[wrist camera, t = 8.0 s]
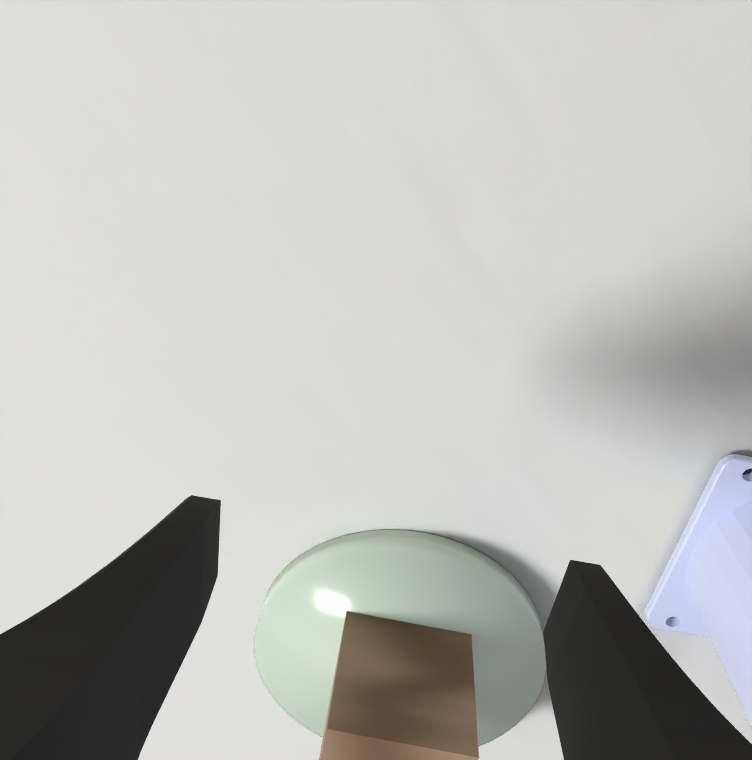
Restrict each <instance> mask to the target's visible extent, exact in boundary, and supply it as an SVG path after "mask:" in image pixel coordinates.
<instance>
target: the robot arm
mask: <svg viewBox="0 0 752 760" xmlns="http://www.w3.org/2000/svg"><path fill="white" fill-rule="evenodd" d="M748 469H752V457H749V456H744V455H738V454H731V455H727V456H725V457H723V458H722V459H721V460H720V461H719V462H718V463H717V465H716V467H715V469H714V471H713V473H712V475H711V477H710V479H709V481H708V483H707V485H706V487H705V490H704V492H703V494H702V496H701V498H700V500H699V502H698V504H697V506H696V508H695V510H694V512H693V514H692V516H691V518H690V520H689V522H688V524H687V526H686V528H685V530H684V532H683V534H682V536H681V538H680V540H679V542H678V544H677V546H676V548H675V550H674V552H673V554H672V556H671V558H670V560H669V562H668V564H667V566H666V568H665V570H664V572H663V574H662V576H661V578H660V580H659V582H658V584H657V586H656V588H655V590H654V592H653V594H652V596H651V598H650V600H649V602H648V604H647V606H646V608H645V611H644V616H645V618H646V621H647V623H648V624H649V625H650V626H652V627H655V628H660V629H665V630H670V631H676V632H681V633H686V634H691V635H696V636H702V637H707V638H709V639H710V641H711V643H712V646H713V648H714V650H715V652H716V654H717V656H718V658H719V660H720V662H721V664H722V666H723V669H724V671H725V673H726V675H727V677H728V679H729V681H730V683H731V685H732V687H733V689H734V692H735V694H736V696H737V698H738V700H739V702H740V704H741V706H742V708H743V710H744V712H745V715H746V717H747V719H748V721H749V723H750V725H751V727H752V472H751V473H749V474H747V475H743V473H744V472H745V470H748ZM220 505H221V500H216V499H210V498H204V497H198V496H192V495H191V496H190V497H188V498H187V499H185V500H184V501H183V502H182V503H181V504H180V505H179V506H177V507H176V508H175V509H174V510H173V511H172V512H171V513H170V514H168V515H167V516H166V517H165V518H164V519H163V520H162V521H160V522H159V523H158V524H157V525H156V526H155V527H154V528H152V529H151V530H150V531H149V532H148V533H146V534H145V535H144V536H143V537H142V538H140V539H139V540H138V541H137V542H136V543H134V544H133V545H132V546H131V547H129V548H128V549H127V550H126V551H124V552H123V553H122V554H121V555H119V556H118V557H117V558H116V559H114V560H113V561H112V562H111V563H109V564H108V565H106V566H105V567H104V568H102V569H101V570H100V571H98V572H97V573H96V574H94V575H93V576H91V577H90V578H89V579H87V580H86V581H85V582H83V583H82V584H80V585H79V586H78V587H76V588H75V589H73V590H72V591H70V592H69V593H68V594H66V595H65V596H63V597H62V598H60V599H59V600H57V601H56V602H54V603H52V604H51V605H49V606H48V607H46V608H45V609H43V610H41V611H40V612H38V613H36V614H35V615H33V616H32V617H30V618H28V619H27V620H25V621H23V622H22V623H20V624H18V625H16V626H14V627H13V628H11V629H9V630H7V631H6V632H4V633H2V634H0V760H138V758H139V755H140V752H141V750H142V747H143V745H144V742H145V740H146V738H147V736H148V733H149V731H150V729H151V726H152V724H153V722H154V720H155V718H156V716H157V714H158V712H159V710H160V708H161V705H162V703H163V701H164V699H165V697H166V695H167V693H168V691H169V689H170V687H171V685H172V683H173V681H174V679H175V676H176V674H177V672H178V670H179V668H180V666H181V664H182V662H183V660H184V658H185V656H186V654H187V652H188V649H189V647H190V645H191V643H192V641H193V639H194V637H195V635H196V633H197V631H198V628H199V626H200V624H201V622H202V619H203V616H204V614H205V611H206V608H207V605H208V602H209V599H210V596H211V593H212V590H213V587H214V585H215V582H216V579H217V576H218V552H219V529H220ZM670 617H674V618H671V619H668V618H670ZM544 643H545V657H546V668H547V678H548V685H549V690H550V695H551V700H552V704H553V709H554V714H555V719H556V724H557V728H558V733H559V738H560V742H561V747H562V752H563V756H564V760H752V744H751V743H750V742H749V741H748V740H747V739H746V738H745V737H744V736H743V735H742V734H741V733H740V732H739V731H738V730H737V729H736V728H735V727H734V726H733V725H732V724H731V723H730V722H729V721H728V720H727V719H726V718H725V717H724V716H723V715H722V714H721V713H720V712H719V711H718V710H717V709H716V707H715V706H714V705H713V704H712V703H711V702H710V701H709V700H708V699H707V698H706V697H705V695H704V694H703V693H702V692H701V691H700V690H699V689H698V687H697V686H696V685H695V684H694V683H693V682H692V681H691V680H690V678H689V677H688V676H687V675H686V674H685V673H684V672H683V670H682V669H681V668H680V667H679V666H678V664H677V663H676V662H675V661H674V660H673V658H672V657H671V656H670V655H669V653H668V652H667V651H666V650H665V649H664V647H663V646H662V645H661V644H660V642H659V641H658V640H657V639H656V637H655V636H654V635H653V634H652V632H651V631H650V630H649V628H648V627H647V626H646V625H645V623H644V622H643V621H642V619H641V618H640V617H639V615H638V614H637V613H636V611H635V610H634V609H633V608H632V606H631V605H630V604H629V602H628V601H627V600H626V598H625V597H624V596H623V594H622V593H621V592H620V590H619V589H618V588H617V586H616V585H615V584H614V582H613V581H612V580H611V578H610V577H609V576H608V574H607V573H606V572H605V571H604V569H603V568H602V567H601V565H597V564H591V563H585V562H579V561H574V560H570V562H569V565H568V567H567V570H566V573H565V575H564V578H563V581H562V584H561V586H560V589H559V592H558V594H557V597H556V600H555V602H554V605H553V608H552V610H551V613H550V616H549V618H548V621H547V624H546V626H545V629H544Z"/></svg>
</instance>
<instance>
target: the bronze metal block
mask: <svg viewBox="0 0 752 760" xmlns="http://www.w3.org/2000/svg"><path fill="white" fill-rule="evenodd" d="M478 759H479V752H478V736H477V719H476V702H475V685H474V668H473V651H472V634H467V633H462V632H457V631H451V630H446V629H440V628H435V627H430V626H424V625H419V624H414V623H408V622H403V621H398V620H392V619H387V618H381V617H376V616H371V615H365V614H360V613H355V612H349V611H346V617H345V622H344V627H343V632H342V638H341V643H340V648H339V653H338V658H337V664H336V669H335V674H334V679H333V685H332V690H331V695H330V701H329V707H328V713H327V718H326V724H325V730H324V736H323V742H322V747H321V753H320V759H319V760H478Z"/></svg>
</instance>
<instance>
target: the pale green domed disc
mask: <svg viewBox="0 0 752 760" xmlns="http://www.w3.org/2000/svg"><path fill="white" fill-rule="evenodd" d="M346 611H349V612H355V613H360V614H365V615H371V616H376V617H381V618H387V619H392V620H398V621H403V622H408V623H414V624H419V625H424V626H430V627H435V628H440V629H446V630H451V631H457V632H462V633H467V634H472V651H473V668H474V685H475V702H476V719H477V736H478V747H479V746H481V745H483V744H486V743H488V742H490V741H492V740H494V739H496V738H498V737H499V736H501V735H503V734H504V733H506V732H507V731H508V730H510V729H511V728H513V727H514V726H515V725H516V724H517V723H518V722H519V721H520V720H522V719H523V718H524V717H525V716H526V714H527V713H528V712H529V711H530V709H531V708H532V707H533V705H534V704H535V702H536V700H537V698H538V696H539V694H540V693H541V690H542V686H543V683H544V680H545V674H546V657H545V646H544V641H543V635H542V630H541V625H540V621H539V618H538V614H537V612H536V609H535V607H534V605H533V603H532V600H531V599H530V597H529V596H528V594H527V593H526V591H525V590H524V588H523V587H522V586H521V585H520V584H519V582H518V581H517V580H516V579H515V578H514V577H513V576H512V575H511V574H510V573H509V572H508V571H507V570H505V569H504V568H503V567H502V566H501V565H499V564H498V563H497V562H495V561H494V560H492V559H491V558H489V557H488V556H486V555H484V554H483V553H481V552H479V551H477V550H475V549H473V548H471V547H469V546H467V545H465V544H462V543H459V542H456V541H454V540H451V539H448V538H445V537H441V536H437V535H433V534H429V533H423V532H415V531H408V530H374V531H364V532H358V533H353V534H347V535H344V536H341V537H338V538H334V539H331V540H328V541H326V542H324V543H321V544H319V545H317V546H315V547H313V548H311V549H309V550H308V551H306V552H304V553H303V554H301V555H299V556H298V557H297V558H296V559H294V560H293V561H292V562H291V563H290V564H288V565H287V566H286V567H285V568H284V569H283V571H282V572H281V573H280V574H279V575H278V576H277V577H276V579H275V581H274V582H273V584H272V585H271V587H270V588H269V590H268V593H267V595H266V598H265V600H264V603H263V606H262V609H261V612H260V615H259V618H258V621H257V624H256V629H255V634H254V657H255V663H256V666H257V669H258V672H259V675H260V678H261V679H262V681H263V683H264V685H265V687H266V689H267V690H268V692H269V693H270V695H271V696H272V697H273V699H274V700H275V701H276V702H277V704H278V705H279V706H280V707H281V708H282V709H283V710H284V711H285V712H286V713H287V714H288V715H290V716H291V717H292V718H293V719H294V720H296V721H297V722H298V723H300V724H301V725H303V726H304V727H305V728H307V729H308V730H310V731H312V732H313V733H315V734H317V735H319V736H321V737H323V736H324V730H325V724H326V718H327V713H328V707H329V701H330V695H331V690H332V685H333V679H334V674H335V669H336V664H337V658H338V653H339V648H340V643H341V638H342V632H343V627H344V622H345V617H346Z"/></svg>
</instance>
